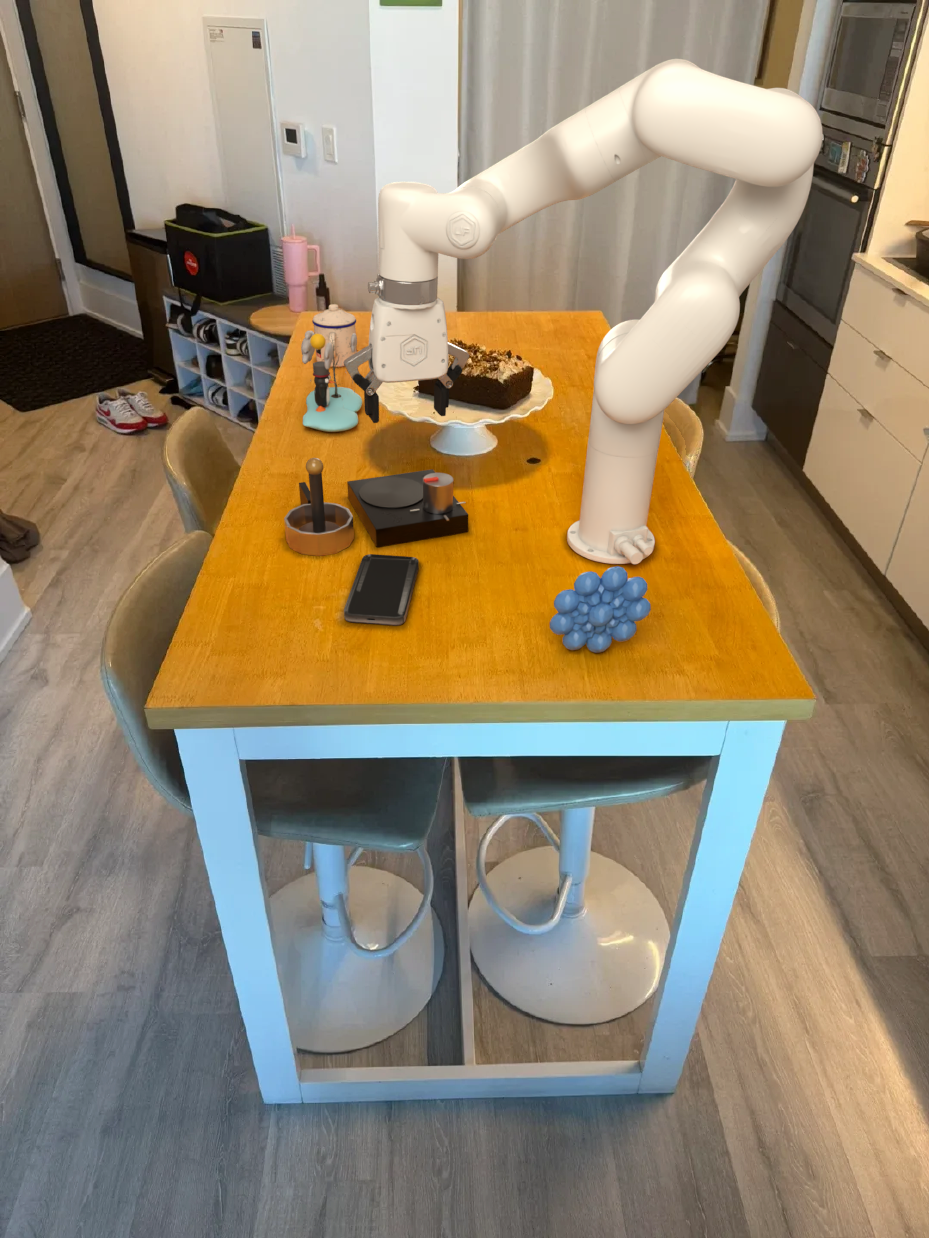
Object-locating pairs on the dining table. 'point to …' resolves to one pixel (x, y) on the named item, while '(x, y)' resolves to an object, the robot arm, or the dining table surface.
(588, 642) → the blue knobbed flower shape
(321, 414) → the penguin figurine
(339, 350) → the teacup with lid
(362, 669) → the dining table surface
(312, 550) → the egg ring
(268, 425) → the dining table surface
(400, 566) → the phone
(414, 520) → the hotplate
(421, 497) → the burner
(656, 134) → the robot arm
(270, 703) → the dining table surface
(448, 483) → the hotplate knob
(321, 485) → the peg stand
